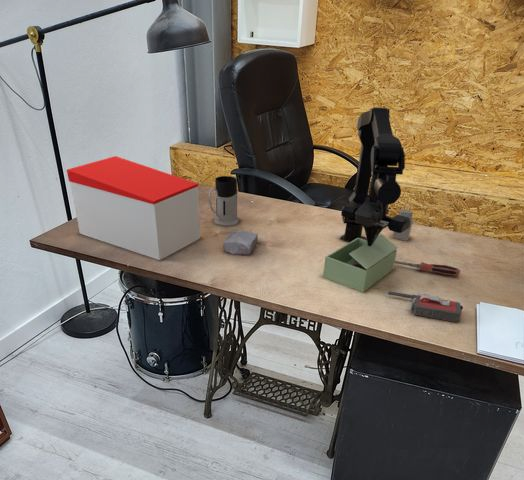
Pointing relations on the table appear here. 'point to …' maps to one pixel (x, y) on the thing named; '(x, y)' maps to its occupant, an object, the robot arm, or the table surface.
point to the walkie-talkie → (432, 306)
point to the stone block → (240, 242)
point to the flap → (373, 251)
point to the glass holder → (225, 200)
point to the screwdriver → (434, 268)
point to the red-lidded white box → (135, 206)
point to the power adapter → (406, 233)
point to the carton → (351, 276)
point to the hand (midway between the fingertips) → (369, 245)
